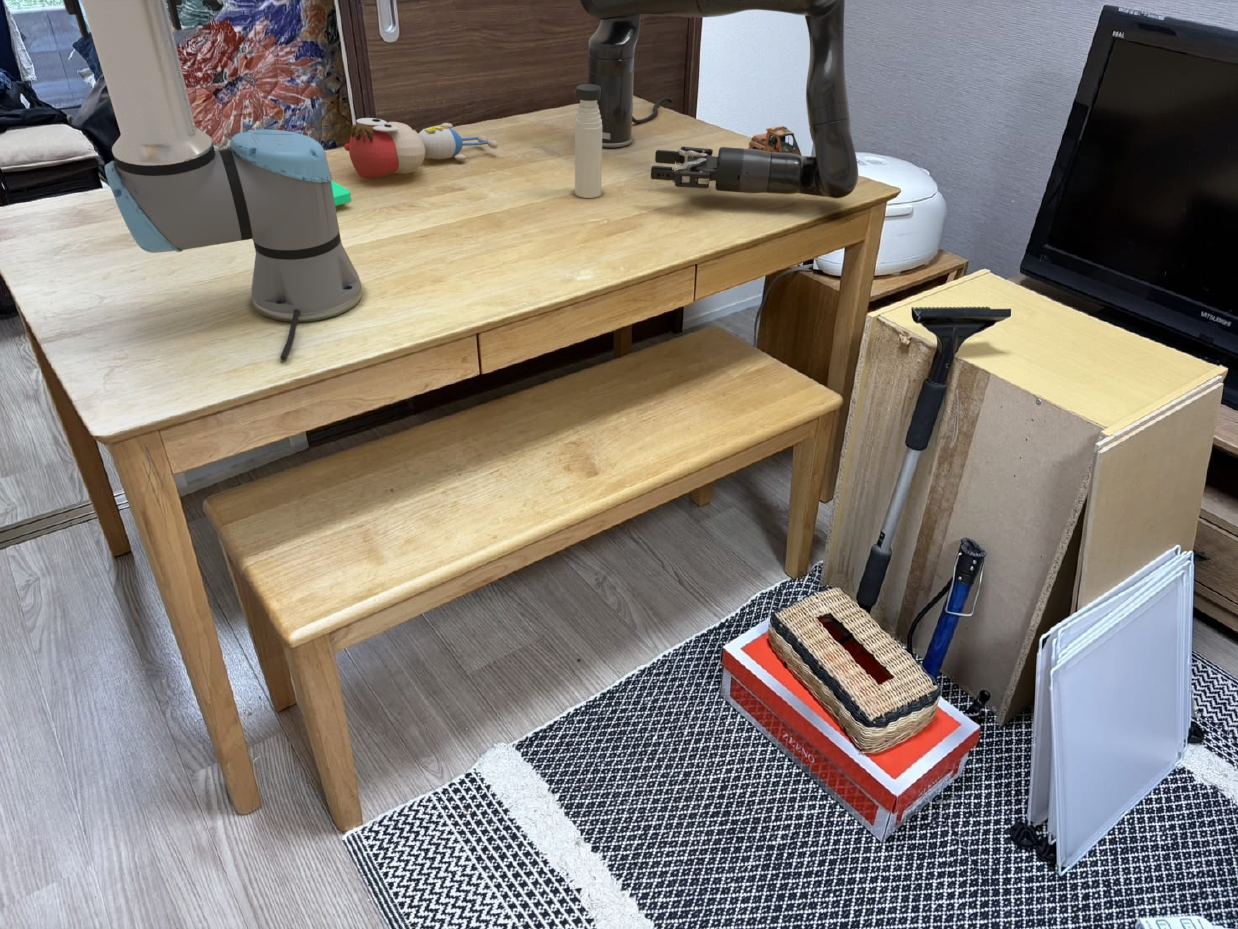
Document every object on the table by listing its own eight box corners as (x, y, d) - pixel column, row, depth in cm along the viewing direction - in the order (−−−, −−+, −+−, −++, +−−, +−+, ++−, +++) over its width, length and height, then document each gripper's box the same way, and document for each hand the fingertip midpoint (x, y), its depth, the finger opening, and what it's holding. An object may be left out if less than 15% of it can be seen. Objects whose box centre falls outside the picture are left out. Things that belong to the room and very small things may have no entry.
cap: (583, 102, 158) (583, 91, 157) (571, 95, 161) (571, 85, 160) (605, 99, 160) (605, 88, 159) (593, 92, 163) (593, 82, 162)
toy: (513, 124, 177) (360, 128, 162) (513, 178, 182) (363, 187, 167) (473, 109, 190) (327, 111, 175) (473, 159, 195) (331, 166, 180)
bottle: (582, 199, 168) (583, 94, 157) (570, 191, 172) (569, 87, 161) (606, 195, 170) (607, 91, 159) (593, 186, 174) (594, 84, 163)
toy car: (763, 152, 192) (768, 117, 188) (807, 168, 184) (812, 133, 180) (742, 157, 188) (745, 123, 184) (785, 174, 181) (790, 139, 177)
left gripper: (174, -130, 142) (207, 20, 155) (-12, -126, 131) (41, 35, 143) (186, -126, 137) (219, 29, 150) (-6, -122, 126) (48, 45, 139)
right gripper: (746, 136, 169) (657, 130, 170) (745, 163, 157) (650, 156, 159) (741, 177, 173) (655, 170, 174) (740, 205, 162) (648, 198, 163)
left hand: (132, 32), depth 147 cm, fingers open, 13 cm apart
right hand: (653, 164), depth 167 cm, fingers open, 8 cm apart
